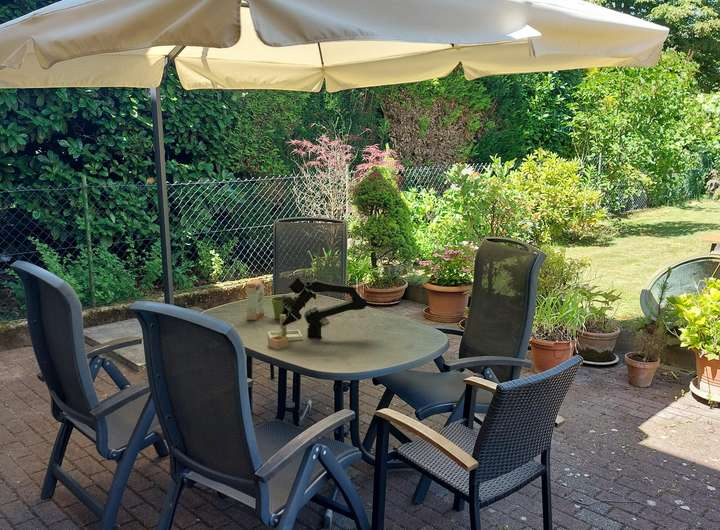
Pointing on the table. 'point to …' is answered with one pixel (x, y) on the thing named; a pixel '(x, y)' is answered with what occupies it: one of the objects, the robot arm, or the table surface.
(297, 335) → the tray
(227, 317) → the table surface
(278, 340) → the pin cup
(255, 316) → the cracker box
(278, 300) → the plant pot
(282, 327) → the dowel pin
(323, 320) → the ceramic mug
